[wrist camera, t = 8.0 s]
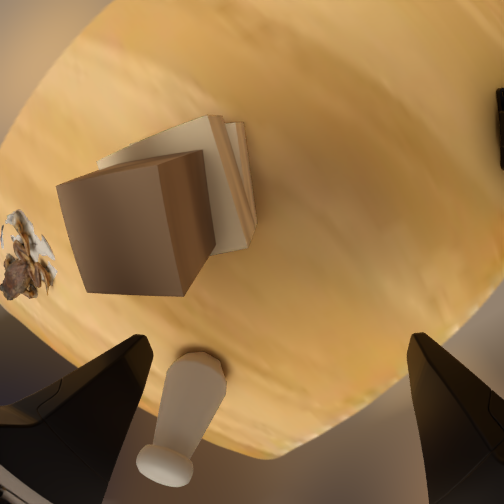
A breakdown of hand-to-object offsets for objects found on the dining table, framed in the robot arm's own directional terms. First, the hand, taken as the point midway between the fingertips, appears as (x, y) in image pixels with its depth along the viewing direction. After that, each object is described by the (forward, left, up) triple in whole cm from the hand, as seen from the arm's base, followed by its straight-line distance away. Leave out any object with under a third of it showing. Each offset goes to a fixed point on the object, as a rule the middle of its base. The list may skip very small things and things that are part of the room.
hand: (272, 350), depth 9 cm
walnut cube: (+6, -4, -7) cm, 10 cm away
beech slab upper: (+6, -4, -10) cm, 12 cm away
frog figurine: (+29, +1, -13) cm, 32 cm away
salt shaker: (+10, +14, -13) cm, 21 cm away
